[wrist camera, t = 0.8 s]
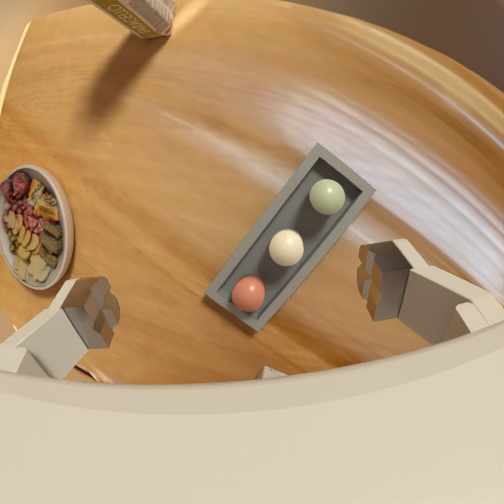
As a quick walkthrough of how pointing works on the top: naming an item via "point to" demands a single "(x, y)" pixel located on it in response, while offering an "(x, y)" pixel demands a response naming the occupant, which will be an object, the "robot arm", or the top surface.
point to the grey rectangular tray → (300, 219)
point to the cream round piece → (286, 247)
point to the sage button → (326, 196)
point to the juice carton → (141, 15)
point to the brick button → (249, 293)
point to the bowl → (35, 226)
